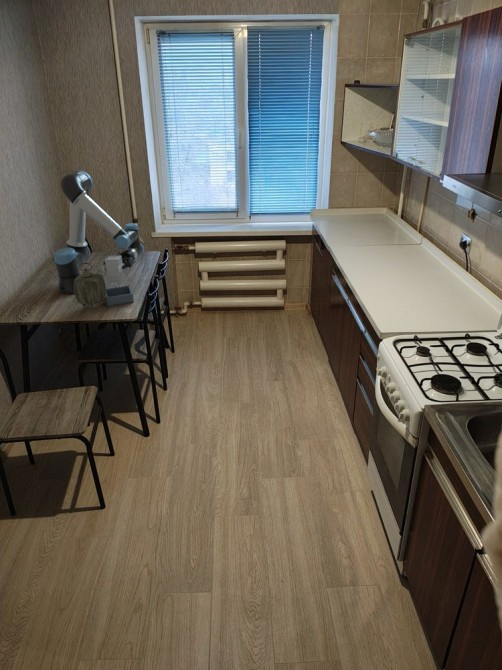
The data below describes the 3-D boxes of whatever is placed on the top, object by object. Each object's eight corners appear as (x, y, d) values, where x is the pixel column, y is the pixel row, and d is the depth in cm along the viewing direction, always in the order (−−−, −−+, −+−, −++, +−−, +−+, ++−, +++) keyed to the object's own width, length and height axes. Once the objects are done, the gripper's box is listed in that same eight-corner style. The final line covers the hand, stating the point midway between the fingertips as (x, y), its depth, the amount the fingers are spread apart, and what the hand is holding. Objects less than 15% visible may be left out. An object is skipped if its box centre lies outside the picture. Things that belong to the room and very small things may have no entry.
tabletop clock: (108, 304, 263) (100, 259, 252) (105, 311, 255) (96, 265, 244) (81, 305, 263) (72, 260, 252) (77, 312, 255) (67, 266, 244)
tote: (107, 306, 260) (106, 297, 258) (106, 297, 272) (104, 289, 270) (133, 302, 264) (132, 293, 262) (130, 293, 276) (129, 285, 273)
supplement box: (121, 282, 260) (118, 259, 254) (108, 282, 260) (104, 259, 254) (125, 277, 266) (121, 255, 261) (111, 277, 267) (107, 255, 261)
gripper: (146, 263, 275) (130, 277, 255) (112, 262, 279) (93, 275, 259) (144, 250, 272) (128, 263, 252) (109, 249, 276) (90, 262, 256)
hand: (110, 269), depth 256 cm, fingers closed on supplement box, 8 cm apart
